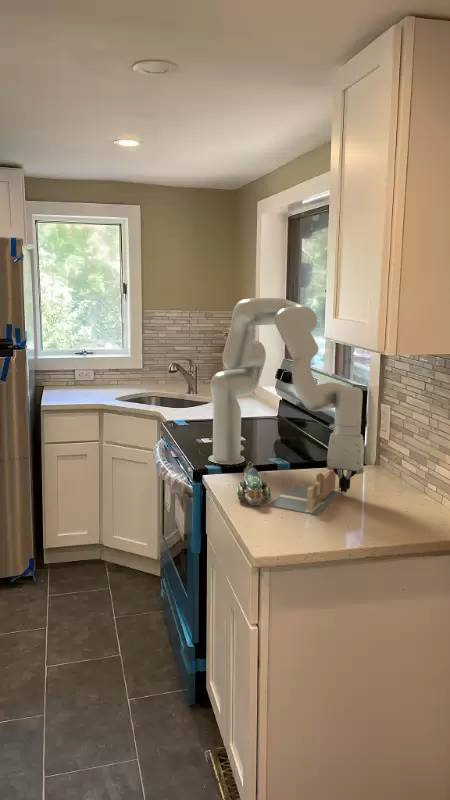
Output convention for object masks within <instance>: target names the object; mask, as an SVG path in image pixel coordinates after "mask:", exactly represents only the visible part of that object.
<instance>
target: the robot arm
mask: <svg viewBox="0 0 450 800" xmlns="http://www.w3.org/2000/svg"><path fill="white" fill-rule="evenodd" d="M230 322H231V323H230V328H229V331H228V334H227V338H226V342H225V345H224V348H223V352H222V358H221V359H222V363H223V365H224V366H225V367H226V369H227V370H226V369H225V370H222V371H219V372H217V373H215V374H214V375H213V376H212V378H211V380H210V383H209V384H210V386H209V387H210V393H211V397H212V419H213V420H212V455H210V456H209V457H208V460H209V461H211V462H214V463H219V464H228V465H229V464H230V465H232V464H239V463H242V462H244V461H246V459H245V457H244V456H243V455H241V452H242V451H244V449H245V447H244V446H243V445H241V443H242V442H241V440H242V438H241V437H242V436H241V434H242V433H241V432H242V431H241V430H242V411H241V405H240V404H239V401H238V399H237V398H241V397H245V396H251V395H252V394H253V393H254V392H255V391H256V389H257V388H258V386H259V382H260V379H261V377H262V373H263V369H264V367H265V362H266V358H267V355H266V354H267V353H266V348H265V347H264V345H263V343H262V342H261V341H260V340H256V339H255V337H256V326H268V325H269V326H271V325H275V327H276V329H277V331H278V333H279V336H280V338H281V339H282V341H283V343H284V345H285V347H286V349H287V351H288V353H289V355H290V357H291V359H292V368H291V377H292V378H291V379H292V385H293V388H294V390H295V392H296V394H297V396H298V398H299V400H300V402H301V403H302V405H304V407H305V408H306V409H307V410H309V411H312V412H320V411H325V410H329V409H334V423H329V424H328V429H331V430H333V431H332V433H330V436H329V441H328V447H327V456H326V457H327V458H326V470H328V471H330V470H331V471H334V472H335V473H336V476H337V477H338V488H339V489H340V491H339V492H342V493H347V492H348V490H350V488H351V479H352V477H354V476H355V475H361V474H364V472H365V468H364V465H365V464H364V463H365V444H364V437H363V434H361V431H362V428H361V427H362V415H363V414H362V412H363V410H362V409H363V397H364V396H363V390H362V389H361V388H359V387H356V386H347V385H343V384H341V383H337V382H326V383H319V384H317V382H316V379H315V378H314V376H313V373H312V369H311V363H312V360H313V358H314V357H315V356H316V355H318V352H319V350H320V348H319V345H318V343H317V342H316V340H315V338H314V336H313V333H312V332H313V331H314V330H315V329H316V327H317V324H318V318H317V314H316V312H315V311H314V310H313V309H312V308H310V307H309V306H307V305H304V304H301V303H298V302H294V301H292V300H288V299H285V298H283V297H282V298H281V297H254V298H253V297H251V298H246V299H245V298H244V299H242V300H240V301H238V302H237V303H236V304H235V306H234V308H233V311H232V316H231V321H230ZM209 461H208V462H209ZM244 463H245V462H244ZM345 471H346V475H345Z"/></svg>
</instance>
